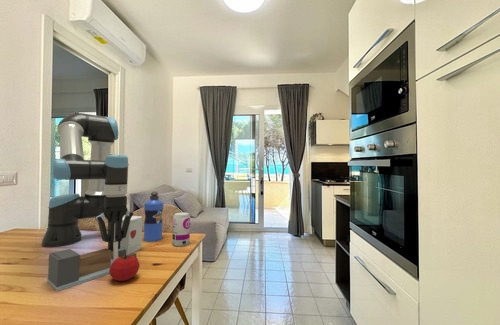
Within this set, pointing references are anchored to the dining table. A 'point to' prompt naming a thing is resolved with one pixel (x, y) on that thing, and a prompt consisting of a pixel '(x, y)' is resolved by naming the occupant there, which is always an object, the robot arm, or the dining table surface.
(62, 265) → the board
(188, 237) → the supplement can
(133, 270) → the tomato
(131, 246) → the supplement box
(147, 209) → the water bottle
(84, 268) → the walnut slat
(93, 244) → the dining table surface
